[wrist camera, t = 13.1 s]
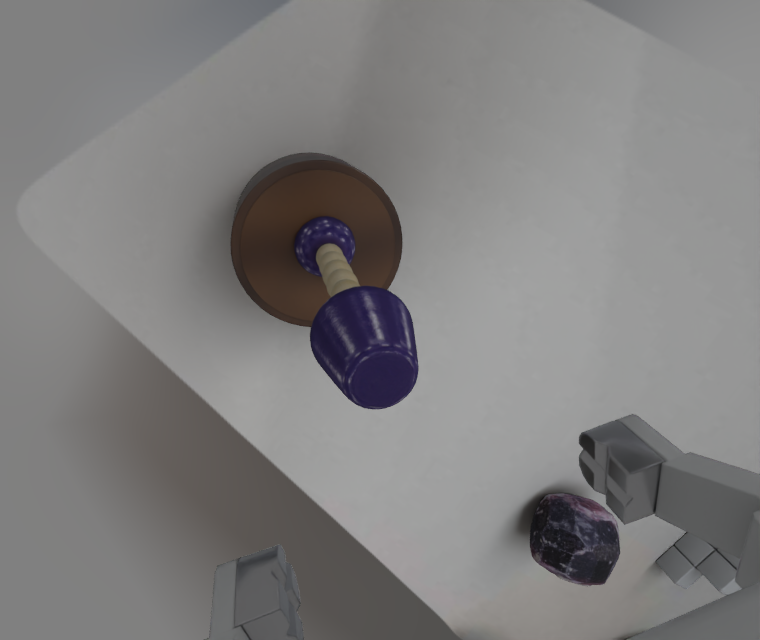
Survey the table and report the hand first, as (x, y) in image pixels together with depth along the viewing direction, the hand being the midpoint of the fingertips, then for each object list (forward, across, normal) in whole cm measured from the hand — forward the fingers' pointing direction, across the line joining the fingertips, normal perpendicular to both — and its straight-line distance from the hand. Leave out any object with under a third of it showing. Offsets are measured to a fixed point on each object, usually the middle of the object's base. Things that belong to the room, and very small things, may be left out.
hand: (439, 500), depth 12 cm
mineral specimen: (+28, -20, +44) cm, 56 cm away
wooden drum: (+28, 0, 0) cm, 28 cm away
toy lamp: (+23, 0, 0) cm, 23 cm away
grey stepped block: (+28, -46, +67) cm, 86 cm away
